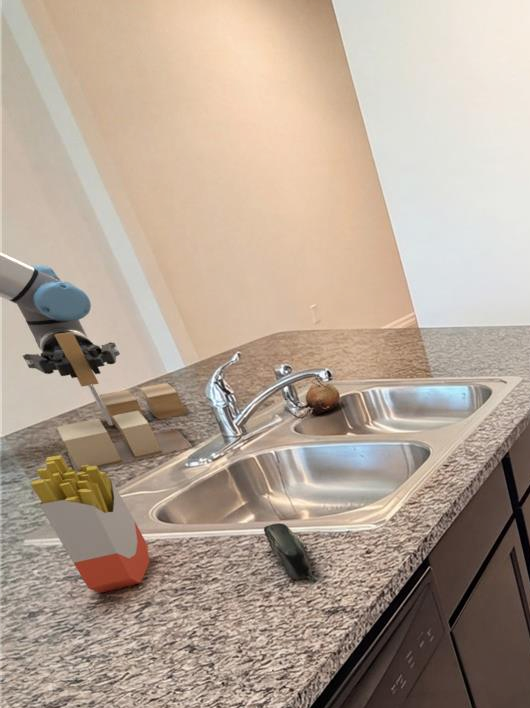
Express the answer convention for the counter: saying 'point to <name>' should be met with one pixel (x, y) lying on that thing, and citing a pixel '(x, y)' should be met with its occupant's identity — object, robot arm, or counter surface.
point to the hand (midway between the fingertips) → (83, 368)
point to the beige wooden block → (137, 433)
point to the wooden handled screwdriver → (80, 367)
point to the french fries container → (92, 525)
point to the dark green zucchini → (289, 551)
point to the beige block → (88, 443)
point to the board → (167, 444)
